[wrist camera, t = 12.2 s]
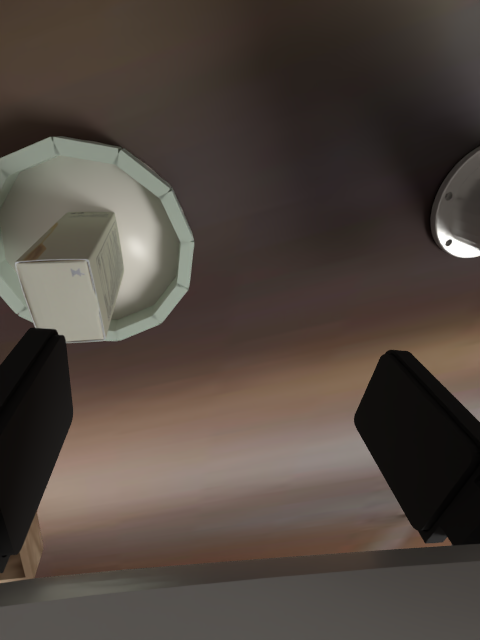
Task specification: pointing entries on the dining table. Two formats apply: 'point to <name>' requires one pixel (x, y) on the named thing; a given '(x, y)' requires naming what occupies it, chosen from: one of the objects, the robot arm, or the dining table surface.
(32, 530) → the wooden display box
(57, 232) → the skincare box
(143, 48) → the dining table surface
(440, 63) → the dining table surface
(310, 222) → the dining table surface
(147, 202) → the round tray
